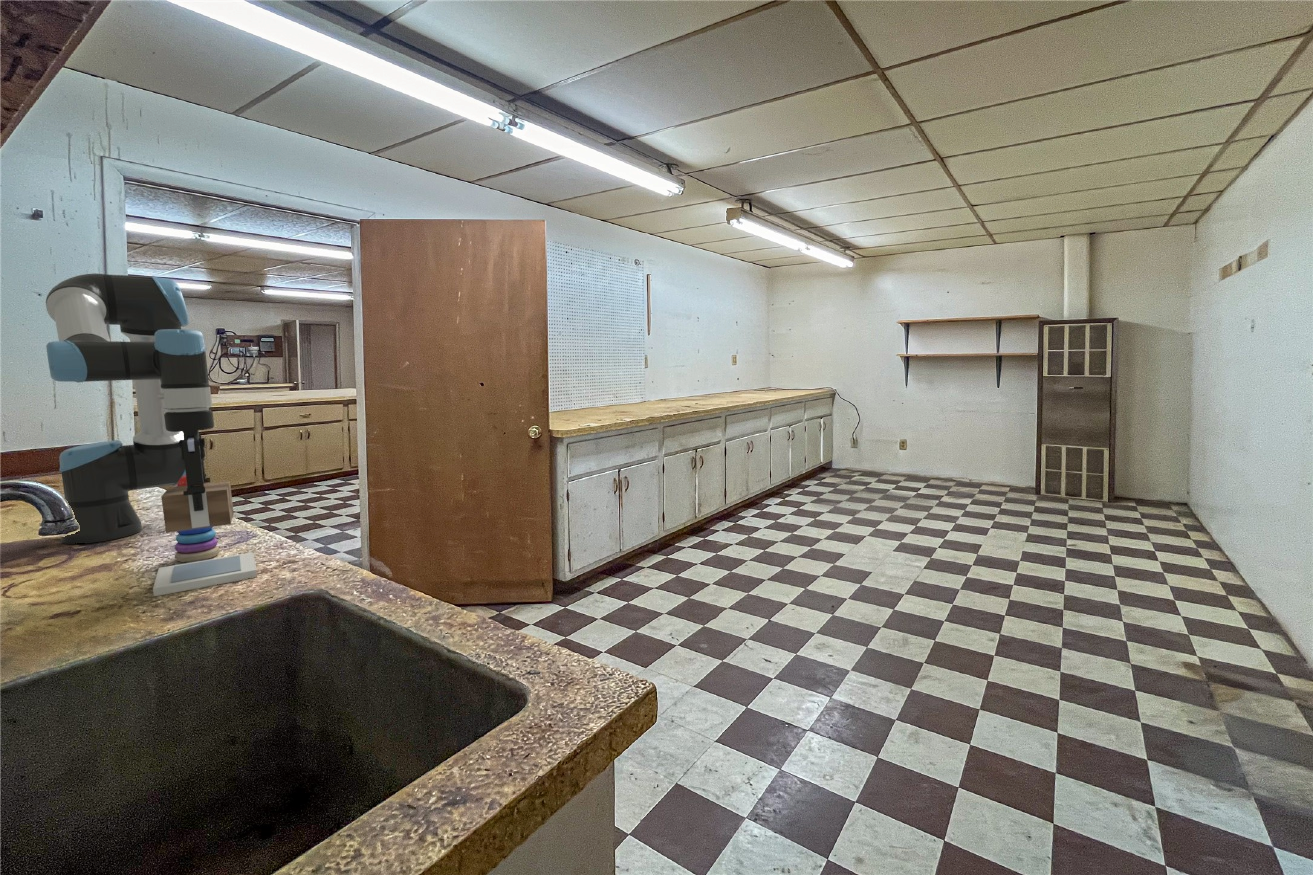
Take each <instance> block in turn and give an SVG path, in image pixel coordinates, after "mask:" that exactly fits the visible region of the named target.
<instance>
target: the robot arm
mask: <svg viewBox="0 0 1313 875" xmlns="http://www.w3.org/2000/svg"><path fill="white" fill-rule="evenodd" d="M45 308H46V311H47V313H48V315H49V317H50V318H51V319H52V320H53V321H54V322H55V327H56V331H57V332H56V333H57V337H58V338H57V340H58V341H49V342H48V343H47V344H46V346H45V348H46V355H47V361H48V368H49V375H50V378H51V379H52V380H54V381H55V382H62V383H63V382H71V383H72V382H74V383H77V384H78V383H85V382H111V381H134V388H135V390H134V391H135V398H136V406H137V416H138V425H139V432H137V433H136V434H135V435H134V436H133V438H132V443H133V444H128V445H123V442H122V441H121V440H118V439H115V440H113V439H112V440H106V441H99V442H94V443H88V444H82V445H78V446H73V447H70V448H67V449H65V450H63V451H62V452H61V453H60V455H59V457H58V458H59V459H58V460H59V470H58V471H59V473H60V472H61V479H62V480H61V481H62V488H63V496H64V500H65V499H66V500H67V501H68V503H69V505H70V506H71V508H72V510H73V512H74V515H75V519H76V520H77V522H78V523H79V525H80V531H78V532H76V533H75V534H71V535H67V536H65V537H60V536H59V537H60V542H61V543H62V544H65V545H78V544H77V543H85V544H92V543H94V544H95V543H99V542H107V541H111V540H116V539H122V538H124V537H129V536H132V535H135V534H137V533H140V532H141V531H143V524H142V520H141V519H140V517H139V515H138V514H137V512H136V511H135V509H134V507H133V505H132V504H131V502H130V496H129V491H135V490H136V491H138V490H145V489H153V488H162V487H170V486H171V487H176V486H177V484H178V481H179V480H180V479H181V478H182V477H183V476H185V475H186V480H187V491H183V494H184V496H185V495H188V499H189V507H190V515H191V523H192V528H198V527H205V526H210V523H209V514H208V506H207V498H206V492H205V487H204V483H206V484H207V483H211V477H207V474H206V469H205V462H204V461H205V459H206V451H205V449H206V438H205V437H203V438H202V435H201V433H200V432H199V431H206V430H211V429H213V428H215V422H214V420H215V419H214V413H213V411H212V409H210V408H212V406H213V401H212V394H211V393H212V392H211V387H210V383H209V372H208V362H207V353H206V351H207V346H206V344H205V339H204V334H203V333H202V332H201V331H200V330H196V329H186V328H185V329H182V327H187V326H188V325H189V315H188V310H187V305H186V302H185V299H184V296H183V293H182V291H181V288H180V286H179V284H178V283H177V282H176V281H175V280H173V279H171V278H166V277H156V276H147V275H145V276H144V275H130V274H129V275H125V274H124V275H123V274H109V273H108V274H106V273H105V274H104V273H86V274H80V275H75V276H71V277H70V278H68V279H64V280H62V281H61V282H59V283H57V284H56V285H55V286H54V287H52V288H51V290H49V292H48V293H47V296H46V298H45ZM106 325H109V326H110V325H111V326H112V325H115V326H119V328H120V333H121V334H122V335H124V336H125V337H127V338H128V340H129V341H114V340H113V341H111V339H110V336H109V332H108V330H107V326H106ZM198 485H199V486H198ZM75 543H76V544H75Z"/></svg>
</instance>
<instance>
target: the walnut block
mask: <svg viewBox="0 0 1313 875" xmlns="http://www.w3.org/2000/svg"><path fill="white" fill-rule="evenodd" d="M198 486H199V485H198ZM204 487H205V492H206V498H207V506H208V514H209V523H210V526H205V527H198V528H192V523H191V515H190V507H189V499H188V495H185V496H184V494H183V491H187V486H178V487H177V486H171V487H170V486H168V488H167V489H166V490H165V492H164V493H163V494H161V497H160V498H161V504H162V506H161V507H162V512H163V519H164V529H165V534H169V533H175V532H177V531H184V530H192V529H199V528H207V527H213V528H214V527H220V526H221V527H222V526H229V525H232V521H233V517H234V514H235V513H234V507H233V506H234V505H233V504H234V503H233V495H232V488H231V480H229V481H220V482H208V483H207V484H204ZM177 533H178V532H177Z"/></svg>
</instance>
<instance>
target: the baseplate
mask: <svg viewBox="0 0 1313 875" xmlns="http://www.w3.org/2000/svg"><path fill="white" fill-rule="evenodd" d="M254 554H255V553H254V551H253V552H246V553H240V554H235V555H229V556H228V555H227V556H222V557H218V558H210V559H206V560H202V561H196V562H185V563H180V564H175V565H174V564H173V565H169V566H164V567H159V568H158V570H157V574H156V577H155V580H154V584H153V587H152V592H153V597H158V596H163V595H168V594H169V595H170V594H174V593H180V592H184V591H185V592H186V591H190V590H196V589H201V588H207V587H211V586H216V585H217V584H218V585H223V584H229V583H234V582H238V581H244V580H248V578H250V579H254V577H255V578H258V573H257V572H258V571H257V566H256V559H255V555H254ZM233 581H234V582H233ZM218 585H217V586H218Z"/></svg>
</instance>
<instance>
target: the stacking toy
mask: <svg viewBox="0 0 1313 875" xmlns="http://www.w3.org/2000/svg"><path fill="white" fill-rule="evenodd" d="M204 484H206V483H204ZM178 486H187V480H186V475H185V476H183V477H182V478H181V479H180V480H179V481H178V484H177V485H176V487H178ZM213 528H214V527H207V528H199V529H192V530H184V531H177V535H176V536H175V540H176V542H177V543H176V544H175V545H174V550H175V551H176V552H175V554H174V559H175V560H176V561H177V562H181V563H192V562H198V561H204V560H210V559H213V558H214V557H216V556H218V555H219V554H220V552H221V551H220V547H219V545H218V538H216V535H217V532H216V531H215V530H214V529H213ZM217 545H218V546H217Z"/></svg>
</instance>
